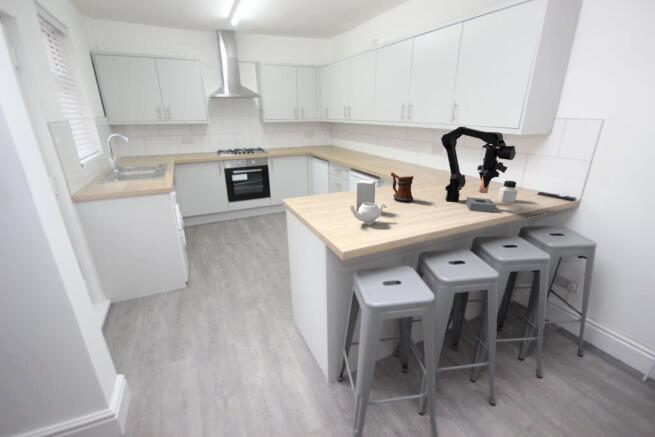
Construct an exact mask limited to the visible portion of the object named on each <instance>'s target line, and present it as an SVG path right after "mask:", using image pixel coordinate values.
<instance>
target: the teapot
mask: <svg viewBox="0 0 655 437" xmlns="http://www.w3.org/2000/svg"><path fill="white" fill-rule="evenodd" d="M349 208H350V211H351V213H352V214H353V215H354V217H355V218H356V219H357V220H358V221H360V222H363V224H364V225H366V226H367V225H368V226H370V225H373V224H374V222H375V221H376V220H377V219H378V218H379V217H380V216H381V215H382V211H383V209H384V208H385V209H386V208H388V207H387V206H386V205H385V204H384V203H381V204H380V205H379V206H378V205H377V203H372V202H365V203H363V204H362V205H361V206H360V208H359V211H357V209H355V206H354V205H351V206H350V207H349Z"/></svg>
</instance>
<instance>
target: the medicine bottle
mask: <svg viewBox="0 0 655 437" xmlns="http://www.w3.org/2000/svg"><path fill="white" fill-rule="evenodd" d="M516 185H517V182H516V181H514V180H505V181H504V183H503V187H500V188H499V191H498V192H499V193H498V196H497V199H498V200H499V201H500V202H502V203H516V199H517V195H518V190H516V187H517V186H516Z"/></svg>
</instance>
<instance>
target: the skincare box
mask: <svg viewBox="0 0 655 437" xmlns="http://www.w3.org/2000/svg"><path fill="white" fill-rule="evenodd" d="M375 198H376V180H367V179H360V180H359V181H357V183H356V211H357V212H359V208H360V206H361V205H362V204H363V203H365V202H372V203H375V201H376V200H375ZM375 204H376V203H375Z"/></svg>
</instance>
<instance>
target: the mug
mask: <svg viewBox="0 0 655 437" xmlns="http://www.w3.org/2000/svg"><path fill="white" fill-rule="evenodd" d="M390 176H391V177H392V182H393V183H392V190H393V191H394V193H395V194H393V200H394V201H396V202H398V203H401V202H402V203H405V204H410V203H412V202H414V196H413V194H412V184H413V180H414V177H415V176H413V175H411V176H399V175H397V174H396V173H394V172H391V173H390ZM396 179H397V180H398V181H397V180H396ZM397 186H398V187H397ZM397 188H398V189H397Z"/></svg>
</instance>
